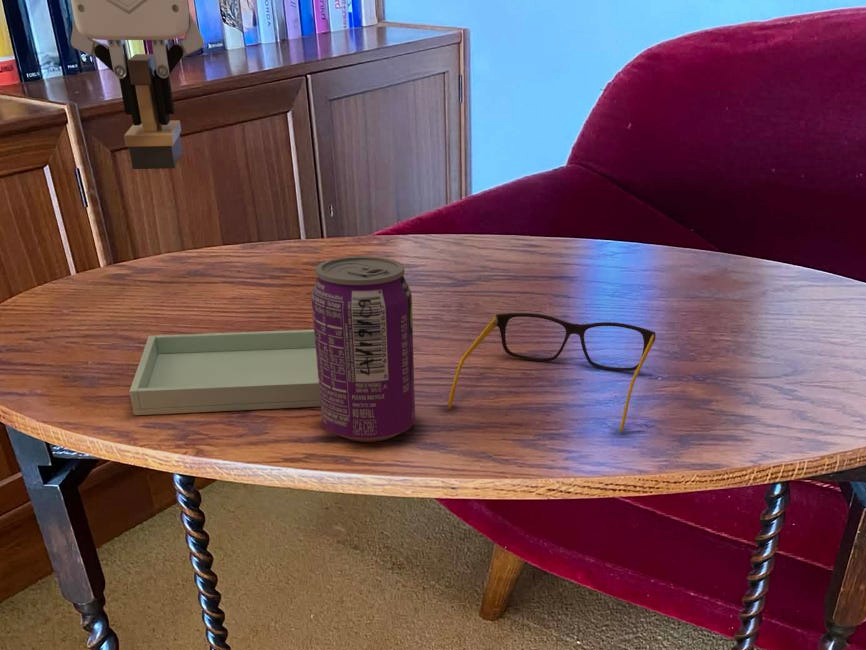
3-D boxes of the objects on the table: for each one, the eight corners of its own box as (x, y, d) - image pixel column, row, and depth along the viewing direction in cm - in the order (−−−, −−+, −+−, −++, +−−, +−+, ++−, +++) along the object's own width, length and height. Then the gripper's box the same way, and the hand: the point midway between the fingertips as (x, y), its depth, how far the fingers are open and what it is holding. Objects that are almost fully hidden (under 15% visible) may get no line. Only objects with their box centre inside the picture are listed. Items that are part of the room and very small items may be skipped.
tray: (134, 415, 75) (129, 391, 74) (153, 357, 86) (148, 335, 85) (366, 404, 78) (365, 380, 77) (357, 349, 88) (355, 327, 87)
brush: (130, 169, 93) (110, 62, 88) (141, 153, 100) (123, 52, 95) (176, 168, 94) (159, 61, 88) (184, 152, 101) (169, 52, 96)
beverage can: (433, 423, 75) (430, 263, 68) (380, 456, 70) (371, 287, 63) (359, 404, 78) (349, 249, 71) (303, 434, 73) (287, 271, 66)
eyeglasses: (652, 371, 85) (658, 326, 83) (622, 435, 74) (627, 384, 71) (498, 352, 88) (499, 308, 86) (446, 410, 77) (446, 361, 75)
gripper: (7, -117, 80) (61, 130, 91) (201, -113, 82) (232, 128, 93) (26, -113, 86) (75, 118, 97) (207, -110, 88) (235, 116, 99)
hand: (151, 121), depth 95 cm, fingers closed on brush
